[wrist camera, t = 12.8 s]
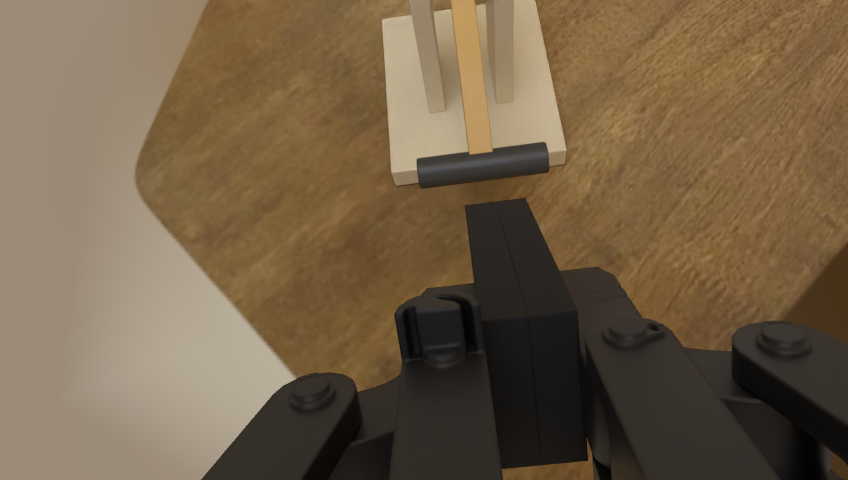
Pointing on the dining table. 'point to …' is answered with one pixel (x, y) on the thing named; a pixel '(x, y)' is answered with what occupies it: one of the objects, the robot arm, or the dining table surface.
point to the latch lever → (477, 122)
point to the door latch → (441, 91)
